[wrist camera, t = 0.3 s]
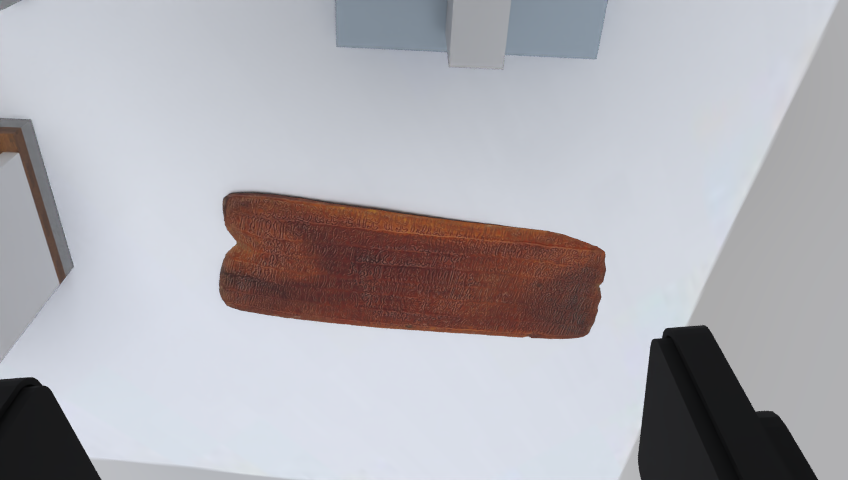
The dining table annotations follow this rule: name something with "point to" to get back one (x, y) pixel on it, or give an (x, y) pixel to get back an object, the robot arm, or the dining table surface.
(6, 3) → the handheld gaming device
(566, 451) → the dining table surface
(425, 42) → the ridge stand
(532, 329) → the wooden tablet
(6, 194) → the tall square planter
